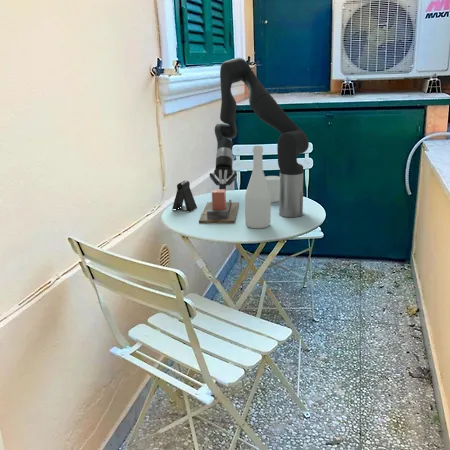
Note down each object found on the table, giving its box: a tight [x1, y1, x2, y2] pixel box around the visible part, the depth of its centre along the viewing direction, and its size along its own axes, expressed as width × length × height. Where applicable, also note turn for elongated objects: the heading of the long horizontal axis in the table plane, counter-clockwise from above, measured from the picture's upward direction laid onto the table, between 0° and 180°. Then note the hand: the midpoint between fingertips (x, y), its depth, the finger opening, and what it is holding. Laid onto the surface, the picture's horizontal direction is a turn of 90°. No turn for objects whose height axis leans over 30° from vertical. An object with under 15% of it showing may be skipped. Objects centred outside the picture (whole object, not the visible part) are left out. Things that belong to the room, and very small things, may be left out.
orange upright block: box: [211, 188, 227, 210], centre depth 180 cm, size 5×5×9 cm
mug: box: [265, 175, 280, 203], centre depth 200 cm, size 12×8×10 cm
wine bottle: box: [244, 145, 272, 230], centre depth 164 cm, size 10×10×30 cm
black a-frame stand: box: [172, 180, 198, 213], centre depth 189 cm, size 9×6×12 cm, turn 67°
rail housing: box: [198, 199, 240, 224], centre depth 183 cm, size 14×26×4 cm, turn 175°
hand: (222, 192), depth 194 cm, fingers closed
